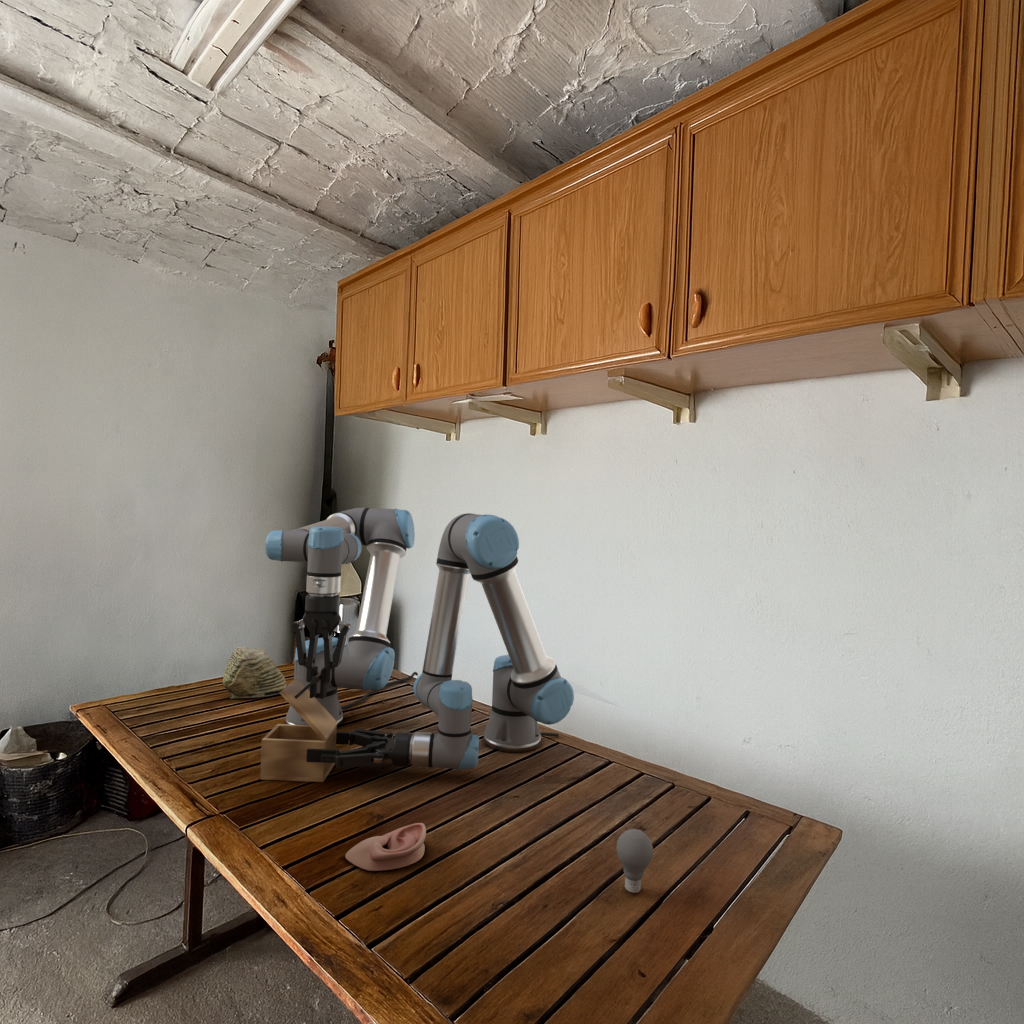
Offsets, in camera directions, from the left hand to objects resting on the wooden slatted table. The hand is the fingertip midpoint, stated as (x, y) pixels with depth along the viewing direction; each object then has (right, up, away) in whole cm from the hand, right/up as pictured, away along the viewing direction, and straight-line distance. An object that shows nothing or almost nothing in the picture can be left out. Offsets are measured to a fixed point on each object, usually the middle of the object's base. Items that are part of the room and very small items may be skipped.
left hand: (318, 696), depth 145 cm
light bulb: (+65, -21, -39) cm, 79 cm away
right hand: (-1, -11, 0) cm, 12 cm away
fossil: (-36, -15, +53) cm, 66 cm away
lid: (-2, -3, 0) cm, 4 cm away
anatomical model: (+22, -19, -32) cm, 43 cm away
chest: (-5, -17, 0) cm, 18 cm away
